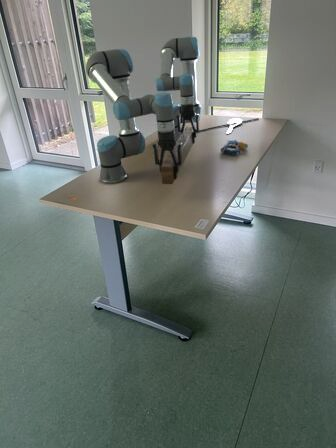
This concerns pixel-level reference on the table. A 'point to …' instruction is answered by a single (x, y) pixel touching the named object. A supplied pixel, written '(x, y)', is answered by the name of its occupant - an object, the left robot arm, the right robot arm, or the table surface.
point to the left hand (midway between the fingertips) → (169, 178)
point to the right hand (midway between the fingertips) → (189, 142)
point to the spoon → (233, 124)
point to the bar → (168, 164)
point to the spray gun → (233, 147)
